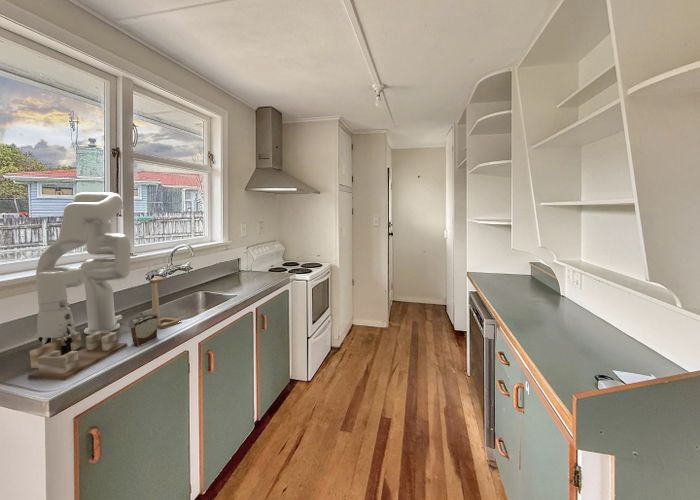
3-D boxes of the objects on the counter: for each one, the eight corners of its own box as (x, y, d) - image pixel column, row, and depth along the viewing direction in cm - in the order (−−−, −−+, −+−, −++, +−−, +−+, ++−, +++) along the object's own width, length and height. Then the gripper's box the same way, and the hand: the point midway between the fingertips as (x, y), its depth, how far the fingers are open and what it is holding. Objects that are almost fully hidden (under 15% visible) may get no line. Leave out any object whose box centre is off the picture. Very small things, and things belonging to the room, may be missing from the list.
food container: (147, 335, 137) (145, 312, 136) (159, 336, 136) (158, 313, 135) (121, 347, 125) (119, 321, 124) (134, 348, 124) (133, 323, 123)
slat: (75, 346, 126) (73, 331, 125) (81, 346, 126) (80, 331, 125) (31, 368, 108) (29, 351, 107) (38, 368, 108) (37, 351, 107)
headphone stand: (182, 321, 155) (180, 276, 153) (164, 329, 144) (161, 280, 142) (163, 320, 157) (161, 275, 155) (144, 327, 147) (141, 279, 144)
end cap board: (97, 345, 126) (95, 330, 126) (127, 346, 126) (125, 330, 125) (28, 378, 101) (26, 359, 100) (65, 379, 100) (63, 360, 99)
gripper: (85, 303, 118) (90, 351, 120) (40, 302, 119) (45, 350, 121) (67, 309, 111) (71, 360, 113) (19, 308, 112) (24, 359, 113)
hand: (58, 354), depth 117 cm, fingers open, 5 cm apart
